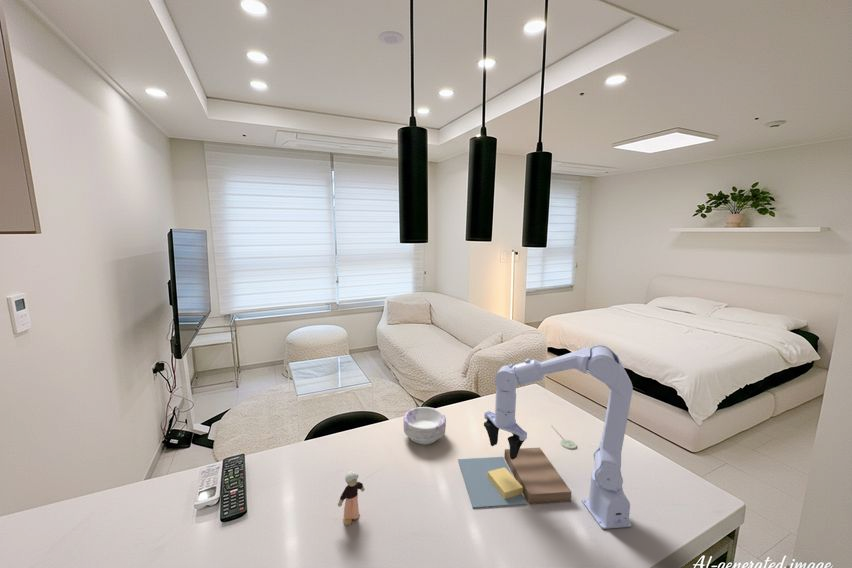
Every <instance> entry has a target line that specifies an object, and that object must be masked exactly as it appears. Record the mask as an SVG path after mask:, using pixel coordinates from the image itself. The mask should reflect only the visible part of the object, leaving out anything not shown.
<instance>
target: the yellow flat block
mask: <svg viewBox="0 0 852 568" xmlns="http://www.w3.org/2000/svg"><path fill="white" fill-rule="evenodd" d="M511 473H512V472H511ZM511 473H510V472H509V471H508V470H507V469H506V468H505V467H504V468H500V469H496V470H492V471H488V477H487V478H488V479H489V480H490V482H491V483H492V484H493V485H494V487H495V488H496V489H497V490H498V492H499V493H500V494H501V496H502V497H503V498H504V499H507V498H510V497H514V496H517V495H520V494H522V495H524V494H523V487H522V486H521V485H520V483H519V482H518V481H517V480H516V479H515V477H514V475H513V474H512V475H513V476H512V475H511Z"/></svg>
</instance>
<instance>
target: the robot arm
mask: <svg viewBox="0 0 852 568" xmlns="http://www.w3.org/2000/svg"><path fill="white" fill-rule="evenodd" d="M572 369H573V370H577V371H579V372H580V373H583V374H586V375H587V370H588V372H589V374H590V375H591V376H592V377H593V378H595V379H597V380H598V381H600V382H602V383H603V384H605V386H607V388H608V389H609V394H608V401H607V406H606V412H605V417H604V424H603V430H602V436H601V440H600V441H599V446H598V447H597V449H595V451H594V453H593V461H594V470H592V472H591V474H590V475H591V476H590V485H589V487H590V488H589V498H582V499H581V502H582V504H583V505H584V506H585V507H586V509H587V510H588V511H589V513H590V514H591V516H592V517H593V518H594V520H595V521H596V522H597V524H598V525H599V527H600V528H601V529H603V530H605V529H616V528H617V529H618V528H630V527H632V523H631V522H630V521H629V520H630V519H629V518H630V512H631V511H630V510H631V503H630V501H629V499H628V498H627V496H626V494H625V492H624V490H623V483H624V478H623V476H622V470H621V469H622V452H623V451H622V450H623V446H624V445H623V444H624V440H625V435H626V434H625V433H626V427H627V425H628V424H627V423H628V418H629V417H628V416H629V414H630V413H629V412H630V407H631V401H632V395H633V390H634V388H633V384H632V381H631V379H630V377H629V374H628V373H627V371H626V370H625V368H624V366H623V364H622V361H621V360H620V358H619V356H618V355H617V354H616V353H615V352H614V351H613V350H612V349H611V348H609V347H608V346H606V345H603V344H597V345H594V346H592V347H591V346H590V347H583V348H580V349H577V350H575V351H572V352H569V353H565V354H563V355H559V356H556V357H553V358H550V359H547V360H544V361H540V360H537V359H531V358H530V357H529V358H526V359H525V360H524V362H520V363H516V364H514V363H509V364H507V365H503V366H501V367H499V370H498V371H497V373H496V375H495V376H494V384H495V386H496V391H495V407H494V412H492V411H490V410H488V411H485V412H484V414H483V415H484V416H483V417H484V419H485V420H486V421H484V422H483V426H484V428H485V430H486V432H487V435H488V439H489V443H490V447H494V446H496V445H498V441H499V431H500V430H502V431H506V432H508V433H510V434H512V435H511V436H509V437H507V441H508V445H509V449H510V459H512V460H513V459H515V458H517V455H518V452H519V449H521V447H522V444H524V442H525V441H526V440H527V439H528V432H527V431H525V430H524V429H523V428H522V427H521V426H520V425H519V424H518V423H517V422H516V421H517V419H516V405H517V393H516V391H517V386H523V385H526V384H531V383H534V382H539V381H542V380H543V379H544V376H545V375H549V374H553V373H558V372H559V373H560V372H563V371H567V370H572Z"/></svg>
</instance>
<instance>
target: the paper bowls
mask: <svg viewBox="0 0 852 568" xmlns="http://www.w3.org/2000/svg"><path fill="white" fill-rule="evenodd" d="M446 422H447V417H446V415H445V414H444V413H443V411H441V410H440V409H438V408H435V407H429V406H419V407H414V408H411V409H410V410H407V412H405V414H404V415H403V432H404V434H405V435H406V436H407V438H409V439H411V440H412V441H413V442H414V443H416V444H418V445H430V444H433V443H435V442H436V441H438V439H440V438H442V437H443V436H444V435H445V434H446V428H447V427H446V426H447V423H446Z"/></svg>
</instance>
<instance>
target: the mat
mask: <svg viewBox="0 0 852 568" xmlns="http://www.w3.org/2000/svg"><path fill="white" fill-rule="evenodd" d="M457 461H458V464H459V467H460V472H461V475H462V478H463V481H464V484H465V488H466V490H467V494H468V497H469V500H470V504H471V507H472V509H473V510H474V509H485V508H486V509H488V508H498V507H499V506H502V507H513V506H514V507H515V505H516V506H526V505H528V502H527V500H526V498H525V496H524V494H520V495H517V496H514V497H510V498H507V499H504V498H503V497H502V496H501V494H500V493H499V492H498V490H497V489H496V488H495V487H494V485H493V484H492V483H491V482H490V480H489V479H488V478H487V477H488V471H492V470H496V469H500V468H504V467H505V468H506V469H507V470H508V471H509V472H510V473H511V475H512V476H513V477H514V475H513V473H512V472H511V470H510V468H509V466H508V464H507V462H506V460H505V458H504V456H493V457H475V458H458V459H457ZM487 507H488V508H487Z"/></svg>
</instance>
